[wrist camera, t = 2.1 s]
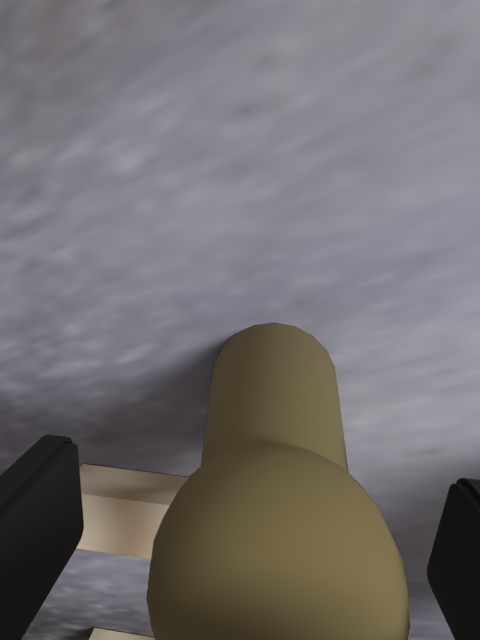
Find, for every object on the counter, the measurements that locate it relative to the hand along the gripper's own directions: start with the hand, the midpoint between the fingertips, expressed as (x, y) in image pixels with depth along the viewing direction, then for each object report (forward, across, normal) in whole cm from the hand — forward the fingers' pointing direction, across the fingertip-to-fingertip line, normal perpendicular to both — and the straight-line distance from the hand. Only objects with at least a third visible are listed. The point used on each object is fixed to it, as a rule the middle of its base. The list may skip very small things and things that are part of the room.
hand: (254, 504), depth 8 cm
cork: (+8, -1, 0) cm, 8 cm away
